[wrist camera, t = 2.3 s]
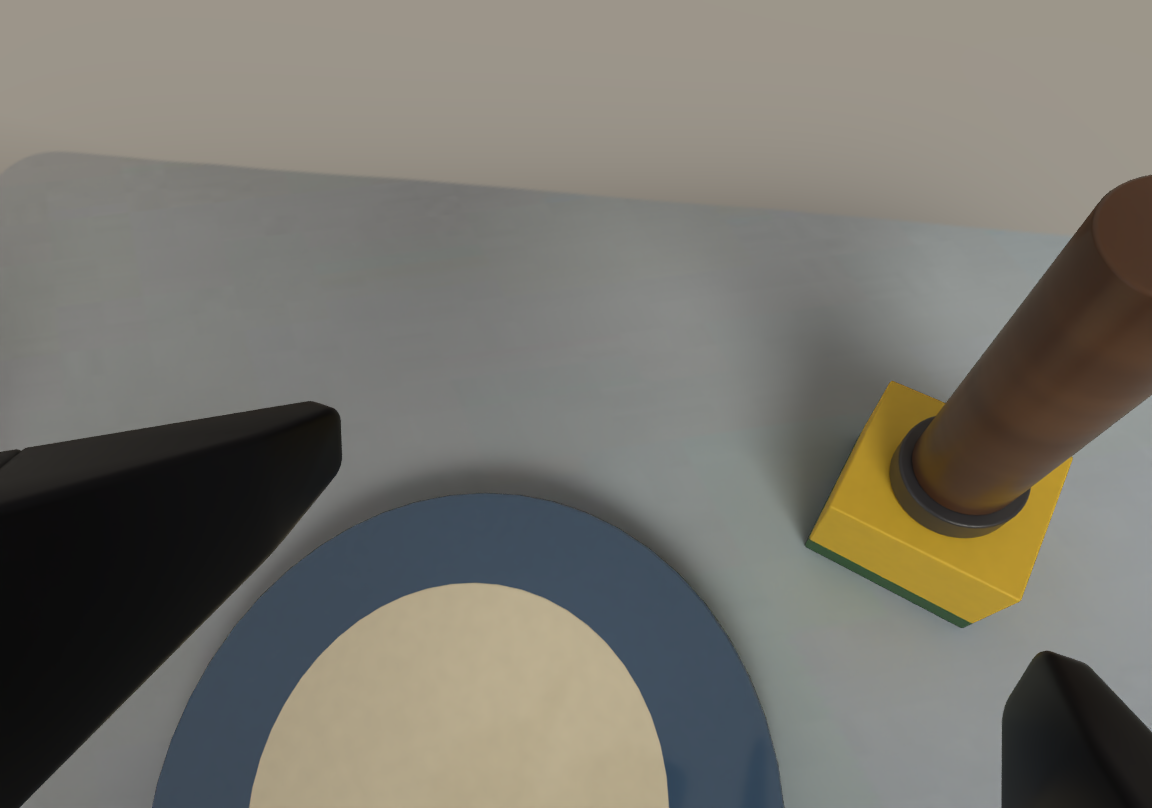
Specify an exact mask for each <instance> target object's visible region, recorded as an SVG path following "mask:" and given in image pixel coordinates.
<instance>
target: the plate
mask: <svg viewBox="0 0 1152 808" xmlns="http://www.w3.org/2000/svg"><path fill="white" fill-rule="evenodd" d="M152 808H784V802H783V795H782V788H781V781H780V774H779V766H778V762H777V758H776V754H775V751H774V747H773V743H772V739H771V735H770V731H769V728H768V724H767V720H766V717H765V714H764V712H763V709H762V707H761V704H760V701H759V699H758V696H757V694H756V691H755V689H754V686H753V684H752V681H751V678H750V676H749V674H748V672H747V670H746V668H745V666H744V665H743V663H742V661H741V659H740V657H739V655H738V653H737V651H736V650H735V648H734V646H733V644H732V642H731V640H730V638H729V636H728V635H727V634H726V632H725V631H724V629H723V628H722V627H721V625H720V624H719V622H718V621H717V619H716V618H715V617H714V615H713V614H712V612H711V611H710V609H709V608H708V607H707V605H706V604H705V602H704V601H703V600H702V599H701V598H700V597H699V596H698V595H697V593H696V592H695V591H694V590H693V589H692V588H691V587H690V586H689V585H688V584H687V582H686V581H685V580H684V579H683V578H682V577H681V576H680V575H679V574H678V573H677V572H676V571H675V570H674V569H673V568H672V567H670V566H669V565H668V564H667V563H666V562H665V561H663V560H662V559H661V558H660V557H659V556H658V555H656V554H655V553H654V552H653V551H652V550H651V549H649V548H648V547H647V546H645V545H644V544H642V543H641V542H639V541H637V540H636V539H634V538H633V537H631V536H630V535H628V534H627V533H625V532H624V531H622V530H621V529H619V528H618V527H615V526H613V525H611V524H609V523H607V522H605V521H603V520H601V519H599V518H597V517H595V516H593V515H591V514H589V513H587V512H584V511H581V510H578V509H575V508H572V507H569V506H566V505H563V504H560V503H557V502H554V501H549V500H544V499H538V498H533V497H528V496H523V495H514V494H497V493H474V494H459V495H449V496H444V497H438V498H433V499H428V500H423V501H418V502H414V503H411V504H408V505H405V506H402V507H399V508H396V509H393V510H389V511H386V512H383V513H381V514H379V515H377V516H375V517H372V518H370V519H368V520H366V521H364V522H361V523H359V524H357V525H355V526H353V527H351V528H349V529H347V530H346V531H344V532H342V533H341V534H339V535H337V536H336V537H334V538H332V539H331V540H329V541H327V542H326V543H324V544H322V545H321V546H319V547H318V548H316V549H315V550H314V551H312V552H311V553H310V554H309V555H307V556H306V557H305V558H303V559H302V560H301V561H299V562H298V563H297V564H295V565H294V566H293V567H291V568H290V569H289V570H288V571H287V572H286V573H285V574H284V575H283V576H282V577H280V578H279V579H278V580H277V581H276V582H275V583H274V584H273V585H272V586H271V587H270V588H269V589H268V590H267V591H266V592H265V593H264V594H262V595H261V596H260V598H259V599H258V600H257V601H256V602H255V603H254V605H253V606H252V607H251V608H250V609H249V610H248V612H247V613H246V614H245V615H244V616H243V617H242V618H241V620H240V621H239V622H238V623H237V624H236V625H235V627H234V628H233V630H232V631H231V632H230V634H229V635H228V637H227V638H226V640H225V641H224V642H223V644H222V645H221V647H220V648H219V650H218V651H217V652H216V654H215V655H214V657H213V658H212V660H211V661H210V663H209V665H208V666H207V668H206V670H205V672H204V673H203V675H202V677H201V679H200V681H199V682H198V684H197V686H196V688H195V689H194V691H193V693H192V695H191V697H190V698H189V701H188V703H187V705H186V708H185V710H184V712H183V714H182V717H181V719H180V721H179V723H178V726H177V728H176V730H175V733H174V735H173V737H172V739H171V743H170V746H169V749H168V752H167V755H166V758H165V761H164V764H163V767H162V770H161V773H160V776H159V779H158V783H157V787H156V791H155V796H154V801H153V805H152Z"/></svg>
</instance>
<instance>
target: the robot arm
mask: <svg viewBox="0 0 1152 808" xmlns="http://www.w3.org/2000/svg"><path fill="white" fill-rule="evenodd" d="M341 461H342V443H341V420H340V415H339V413H338V412H337V411H336V410H335V409H334V408H332V407H329V406H326V405H323V404H320V403H317V402H313V401H307V402H300V403H294V404H288V405H282V406H276V407H270V408H264V409H258V410H252V411H246V412H240V413H234V414H228V415H222V416H216V417H210V418H204V419H198V420H192V421H186V422H180V423H173V424H167V425H161V426H155V427H149V428H143V429H137V430H131V431H125V432H119V433H113V434H107V435H101V436H95V437H89V438H83V439H77V440H71V441H65V442H59V443H53V444H47V445H40V446H34V447H28V448H25V449H23V450H22V451H20V450H17V449H16V450H9V451H3V452H0V808H20V807H21V806H22V805H23V804H24V803H25V802H26V801H27V800H28V799H29V798H30V797H31V796H32V794H33V793H34V792H35V791H36V790H37V789H38V788H39V787H40V786H41V785H42V784H43V783H44V782H45V781H46V780H47V779H48V778H49V777H50V776H51V775H52V774H53V773H54V772H55V771H56V770H57V769H58V768H59V767H60V766H61V765H62V764H63V763H64V762H65V761H66V760H67V759H68V758H69V757H70V756H71V755H72V754H73V753H74V752H75V751H76V750H77V749H78V748H79V747H80V746H81V745H82V744H83V743H84V742H85V741H86V740H87V739H88V738H89V737H90V736H91V735H92V734H93V733H94V732H95V731H96V730H97V729H98V728H99V727H100V726H101V725H102V724H103V723H104V722H105V721H106V720H107V719H108V718H109V717H110V716H111V715H112V714H113V713H114V712H115V711H116V710H117V709H118V708H119V707H120V706H121V705H122V704H123V703H124V702H125V701H126V700H127V699H128V698H129V697H130V696H131V695H132V694H133V693H134V692H135V691H136V690H137V689H138V688H139V687H140V686H141V685H142V684H143V683H144V682H145V681H146V680H147V679H148V678H149V677H150V676H151V675H152V674H153V673H154V672H155V671H156V670H157V669H158V668H159V667H160V666H161V665H162V664H163V663H164V662H165V661H166V660H167V659H168V658H169V657H170V656H171V655H172V654H173V653H174V652H175V651H176V650H177V649H178V648H179V647H180V646H181V645H182V644H183V643H184V642H185V641H186V640H187V639H188V638H189V637H190V636H191V635H192V634H193V633H194V632H195V631H196V630H197V629H198V628H199V627H200V626H201V625H202V624H203V623H204V622H205V621H206V620H207V619H208V618H209V617H210V616H211V615H212V614H213V613H214V612H215V611H216V610H217V609H218V608H219V607H220V606H221V604H222V603H223V602H224V601H225V600H226V599H227V598H228V597H229V596H230V595H231V594H232V593H233V592H234V591H235V590H236V589H237V588H238V587H239V586H240V585H241V584H242V583H243V582H244V581H245V580H246V579H247V578H248V577H249V576H250V575H251V574H252V573H253V572H254V571H255V570H256V569H257V568H258V567H259V566H260V565H261V564H262V563H263V562H264V561H265V560H266V559H267V558H268V557H269V556H270V555H271V554H272V552H273V551H274V550H275V549H276V548H277V547H278V545H279V544H280V543H281V542H282V541H283V540H284V538H285V537H286V536H287V535H288V534H289V532H290V531H291V530H292V529H293V527H294V526H295V525H296V524H297V523H298V521H299V520H300V519H301V518H302V516H303V515H304V514H305V513H306V511H307V510H308V509H309V508H310V507H311V505H312V504H313V503H314V502H315V500H316V499H317V498H318V497H319V495H320V494H321V493H322V492H323V491H324V489H325V488H326V487H327V486H328V484H329V483H330V482H331V481H332V479H333V478H334V477H335V476H336V474H337V472H338V470H339V468H340V466H341ZM1001 808H1152V732H1151V731H1150V730H1149V729H1148V727H1147V726H1146V725H1145V724H1144V723H1143V722H1142V721H1141V720H1140V719H1139V718H1138V717H1137V716H1136V715H1135V714H1134V713H1133V712H1132V711H1131V710H1130V709H1129V708H1128V706H1127V705H1126V704H1125V703H1124V702H1123V701H1122V700H1121V699H1120V698H1119V697H1118V696H1117V695H1116V694H1115V693H1114V692H1113V691H1112V690H1111V689H1110V688H1109V687H1108V685H1107V684H1106V683H1105V682H1104V681H1103V680H1102V679H1101V678H1100V677H1099V676H1098V675H1097V674H1096V673H1095V672H1094V671H1093V670H1092V669H1091V668H1090V667H1089V666H1088V665H1086V664H1085V663H1083V662H1080V661H1078V660H1075V659H1072V658H1069V657H1066V656H1063V655H1060V654H1057V653H1054V652H1051V651H1043V652H1040V653H1038V654H1037V655H1036V656H1035V657H1034V658H1033V659H1032V661H1031V663H1030V664H1029V666H1028V667H1027V669H1026V671H1025V672H1024V674H1023V676H1022V677H1021V679H1020V680H1019V682H1018V684H1017V685H1016V687H1015V688H1014V690H1013V692H1012V693H1011V695H1010V696H1009V698H1008V700H1007V702H1006V705H1005V707H1004V711H1003V717H1002V807H1001Z"/></svg>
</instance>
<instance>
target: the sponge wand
mask: <svg viewBox="0 0 1152 808" xmlns="http://www.w3.org/2000/svg"><path fill="white" fill-rule="evenodd" d="M1151 395H1152V175H1148V176H1143V177H1139V178H1136V179H1133V180H1130V181H1128V182H1126V183H1123V184H1121V185H1119V186H1118V187H1116V188H1114V189H1113V190H1111V191H1110V192H1109V193H1107V194H1106V195H1105V196H1104V197H1103V198H1102V199H1101V201H1100V202H1099V203H1098V204H1097V206H1096V207H1095V208H1094V210H1093V211H1092V212H1091V214H1090V215H1089V216H1088V217H1087V219H1086V220H1085V221H1084V223H1083V224H1082V225H1081V227H1080V228H1079V229H1078V230H1077V232H1076V233H1075V234H1074V236H1073V237H1072V238H1071V240H1070V241H1069V242H1068V244H1067V245H1066V246H1065V247H1064V249H1063V250H1062V251H1061V253H1060V254H1059V255H1058V257H1057V258H1056V259H1055V261H1054V262H1053V263H1052V265H1051V266H1050V267H1049V268H1048V270H1047V271H1046V272H1045V274H1044V275H1043V276H1042V278H1041V279H1040V280H1039V282H1038V283H1037V284H1036V285H1035V287H1034V288H1033V289H1032V291H1031V292H1030V293H1029V295H1028V296H1027V297H1026V299H1025V300H1024V301H1023V303H1022V304H1021V305H1020V306H1019V308H1018V309H1017V310H1016V312H1015V313H1014V314H1013V316H1012V317H1011V318H1010V320H1009V321H1008V322H1007V323H1006V325H1005V326H1004V327H1003V329H1002V330H1001V331H1000V333H999V334H998V335H997V337H996V338H995V339H994V340H993V342H992V343H991V344H990V346H989V347H988V348H987V350H986V351H985V352H984V354H983V355H982V356H981V358H980V359H979V360H978V361H977V363H976V364H975V365H974V367H973V368H972V369H971V371H970V372H969V373H968V375H967V376H966V377H965V378H964V380H963V381H962V382H961V384H960V385H959V386H958V388H957V389H956V390H955V392H954V393H953V394H952V396H951V397H950V398H949V399H948V401H947V402H946V403H944V402H941V401H939V400H937V399H934V398H932V397H930V396H927V395H925V394H922V393H920V392H918V391H915V390H913V389H911V388H908V387H906V386H904V385H901V384H899V383H896V382H894V381H891V382H890V383H889V385H888V387H887V388H886V390H885V392H884V393H883V395H882V397H881V399H880V400H879V402H878V404H877V406H876V407H875V409H874V411H873V413H872V414H871V416H870V418H869V420H868V421H867V423H866V425H865V427H864V428H863V430H862V432H861V433H860V435H859V437H858V439H857V441H856V443H855V445H854V447H853V449H852V451H851V453H850V455H849V457H848V459H847V461H846V463H845V465H844V467H843V469H842V471H841V473H840V475H839V477H838V479H837V481H836V483H835V485H834V487H833V489H832V491H831V493H830V495H829V497H828V499H827V501H826V503H825V505H824V507H823V509H822V511H821V513H820V515H819V517H818V519H817V521H816V523H815V525H814V527H813V529H812V531H811V533H810V536H809V538H808V540H807V542H806V544H805V546H806V547H807V548H809V549H811V550H813V551H815V552H817V553H819V554H821V555H823V556H824V557H826V558H828V559H830V560H832V561H834V562H836V563H838V564H840V565H842V566H844V567H846V568H847V569H849V570H851V571H853V572H855V573H857V574H859V575H861V576H863V577H865V578H867V579H868V580H870V581H872V582H874V583H876V584H878V585H880V586H882V587H884V588H886V589H888V590H890V591H891V592H893V593H895V594H897V595H899V596H901V597H903V598H905V599H907V600H909V601H911V602H912V603H914V604H916V605H918V606H920V607H922V608H924V609H926V610H928V611H930V612H932V613H934V614H935V615H937V616H939V617H941V618H943V619H945V620H947V621H949V622H951V623H953V624H955V625H956V626H958V627H960V628H964V627H966V626H968V625H970V624H972V623H974V622H976V621H979V620H981V619H983V618H985V617H987V616H989V615H992V614H994V613H996V612H998V611H1000V610H1002V609H1005V608H1007V607H1009V606H1011V605H1013V604H1015V603H1017V602H1020V601H1021V599H1022V596H1023V593H1024V591H1025V588H1026V585H1027V582H1028V580H1029V577H1030V574H1031V571H1032V569H1033V566H1034V563H1035V561H1036V558H1037V555H1038V552H1039V550H1040V547H1041V544H1042V541H1043V539H1044V536H1045V533H1046V531H1047V528H1048V525H1049V522H1050V520H1051V517H1052V514H1053V511H1054V509H1055V506H1056V503H1057V501H1058V498H1059V495H1060V492H1061V490H1062V487H1063V484H1064V481H1065V479H1066V476H1067V473H1068V471H1069V468H1070V465H1071V462H1072V460H1073V457H1072V456H1073V455H1074V454H1075V453H1077V452H1078V451H1079V450H1081V449H1082V448H1083V447H1084V446H1086V445H1087V444H1088V443H1090V442H1091V441H1092V440H1094V439H1095V438H1096V437H1098V436H1099V435H1100V434H1101V433H1103V432H1104V431H1105V430H1107V429H1108V428H1109V427H1111V426H1112V425H1113V424H1114V423H1116V422H1117V421H1118V420H1120V419H1121V418H1122V417H1124V416H1125V415H1126V414H1128V413H1129V412H1130V411H1131V410H1133V409H1134V408H1135V407H1137V406H1138V405H1139V404H1141V403H1142V402H1143V401H1145V400H1146V399H1147V398H1148V397H1150V396H1151Z"/></svg>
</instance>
